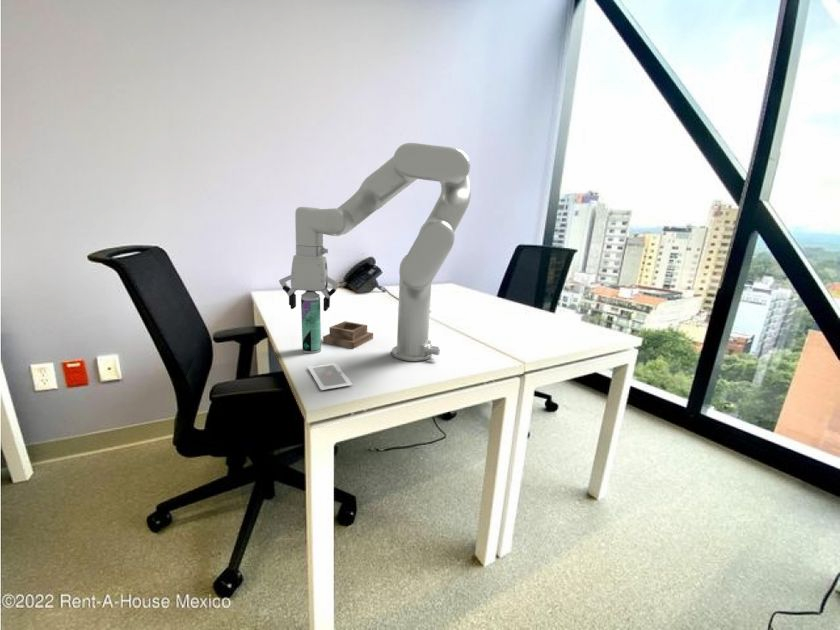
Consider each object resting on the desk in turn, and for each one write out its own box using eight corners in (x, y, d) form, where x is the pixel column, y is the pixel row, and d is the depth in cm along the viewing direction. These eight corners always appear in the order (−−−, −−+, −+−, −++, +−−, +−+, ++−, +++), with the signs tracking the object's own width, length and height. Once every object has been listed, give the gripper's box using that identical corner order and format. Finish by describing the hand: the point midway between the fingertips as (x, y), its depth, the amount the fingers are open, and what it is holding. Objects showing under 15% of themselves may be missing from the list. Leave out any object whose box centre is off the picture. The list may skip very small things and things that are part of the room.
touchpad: (321, 394, 89) (321, 385, 89) (307, 370, 102) (307, 363, 101) (352, 388, 93) (353, 380, 92) (335, 366, 106) (335, 359, 105)
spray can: (315, 346, 119) (314, 284, 114) (324, 351, 116) (323, 287, 111) (299, 349, 116) (297, 286, 110) (308, 355, 112) (306, 289, 107)
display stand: (373, 338, 130) (373, 324, 128) (354, 348, 119) (354, 333, 118) (343, 332, 134) (343, 319, 133) (323, 342, 123) (322, 327, 122)
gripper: (341, 252, 112) (340, 307, 116) (283, 248, 111) (284, 304, 115) (337, 255, 105) (336, 314, 109) (274, 250, 104) (276, 310, 108)
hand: (309, 309), depth 112 cm, fingers open, 9 cm apart
